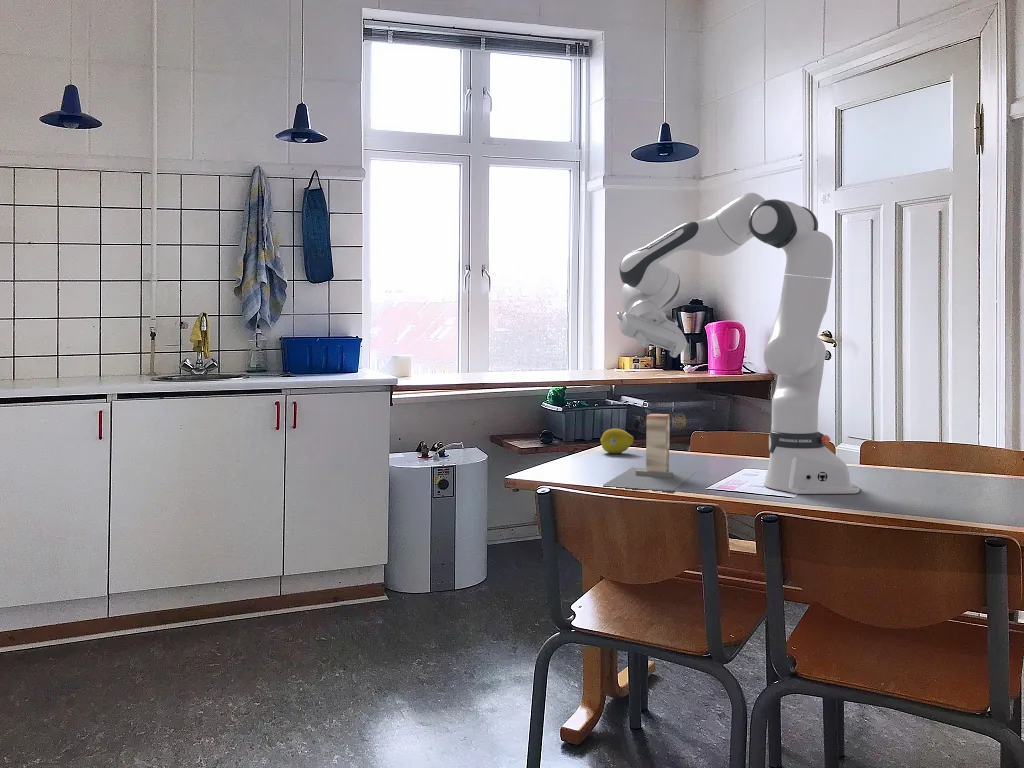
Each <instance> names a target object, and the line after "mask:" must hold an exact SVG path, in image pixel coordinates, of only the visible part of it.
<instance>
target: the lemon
mask: <svg viewBox="0 0 1024 768" xmlns="http://www.w3.org/2000/svg"><path fill="white" fill-rule="evenodd" d="M599 441H600V444H601V447H602V449H603V450H604V451H605V452H607V453H608V454H613V455H617V454H618V455H619V454H622V453H623V452H625V451H627V450H628V449H629V448H630V446H632V445H633V443H634V436H633V435H631V434H630V433H628V432H627V431H626V430H623V429H620V428H610V429H607V430H605V431H604V432H603V433H602V436H601V437H600V440H599Z"/></svg>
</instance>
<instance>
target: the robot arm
mask: <svg viewBox="0 0 1024 768" xmlns="http://www.w3.org/2000/svg"><path fill="white" fill-rule="evenodd" d="M752 238H756V239H757V240H759V241H760V242H762V243H764V244H766V245H769V246H771V247H774V248H776V249H782V250H783V251H784V252H785V256H786V259H785V260H786V262H785V267H784V269H785V270H784V275H783V282H782V287H781V288H782V289H781V294H780V301H779V305H778V310H777V312H776V317H775V319H774V321H773V326H772V328H771V332H770V336H769V339H768V341H767V344H766V346H765V347H764V351H763V360H764V361H763V362H764V364H765V365H766V367H767V368H768V370H769V371H771V372H772V373H773V374H776V375H777V379H776V384H775V385H776V386H775V388H774V393H773V396H772V399H771V429H770V430H769V435H768V450H769V460H768V466H767V470H766V471H767V472H766V476H765V478H764V482H763V486H764V487H766V488H770V489H771V490H773V489H774V490H777V491H782V492H783V491H784V492H787V493H791V494H797V495H801V494H802V495H805V494H806V495H809V494H810V495H812V494H813V495H818V494H820V495H824V494H825V495H826V494H827V495H828V494H829V495H830V494H837V495H838V494H842V495H843V494H858V493H859V492H860V486H859V484H858V483H857V482H854V481H852V480H851V477H850V471H849V467H848V465H847V463H845V461H843V459H841V458H840V457H839V456H837V455H836V454H835V453H834V452H832V451H831V450H830V449H829V448H827V447H826V445H828V444H830V443H831V437H830V436H828V435H827V434H823V433H822V432H820V431H819V429H818V426H819V399H820V392H821V386H822V382H823V381H822V380H823V374H824V366H825V360H826V357H827V350H826V345H825V344H824V342H823V341H822V339H821V338H820V337H818V334H819V332H820V329H821V324H822V321H823V319H824V316H825V314H826V312H827V309H828V304H829V303H828V302H829V296H830V291H831V283H832V277H833V267H834V246H833V244H834V243H833V240H832V238H831V236H829V234H827V233H825V232H822V231H819V221H818V218H817V216H816V215H815V213H814V212H813V211H812V210H810V209H809V208H807V207H805V206H800V205H799V204H796V203H795V202H792V201H789V200H788V201H787V200H781V199H776V198H773V199H767V200H766V199H765V198H764V197H763V196H762V195H760V194H758V193H755V192H746V193H744V194H743V195H740V196H739V197H737V198H735V199H733V200H732V201H730V202H728V203H727V204H726V205H724V206H723V207H722V208H720V209H718V210H717V211H716V212H715V213H713V214H711V215H710V216H708V217H706V218H702V219H700V220H697V221H688V222H685V223H682V224H680V225H679V226H677V227H674V228H672V230H670V231H668V232H666V233H665V234H663V235H662V236H660V237H658V238H657V239H655V240H654V241H652V242H650V243H648V244H647V245H645V246H643V247H640V248H638V249H636V250H632V251H631V252H629V253H627V254H626V255H625V256H624V257H623V258H622V260H621V262H620V264H619V275H620V279H621V282H622V283H623V287H622V288H621V291H620V301H621V304H622V308H623V310H624V311H618V312H616V317H617V319H618V326H619V329H620V333H622V335H624V336H625V337H629V338H632V339H634V340H635V341H637V342H638V344H640V345H641V347H642V348H644V349H648V348H649V346H650V345H652V346H655V347H659V348H661V349H664V350H667V351H669V353H668V354H669V356H670V357H672V358H674V359H675V358H678V356H679V354H682V353H683V352H684V350H685V349H686V348H687V346H688V341H687V339H686V337H685V334H684V333H683V332H682V330H681V329H680V328H679V323H678V321H677V320H676V319H675V318H673V317H671V316H670V315H667V314H666V313H665V312H664V311H662V310H661V309H662V308H664V307H666V306H667V305H669V304H670V303H671V302H672V301H673V300H674V299H675V298H676V297H677V295H678V293H679V291H680V286H681V285H680V284H681V279H680V276H679V274H678V273H677V272H675V270H672V269H671V268H670V267H667V266H666V265H664V264H663V263H662V262H661V261H663V260H665V259H667V258H669V257H670V256H672V255H673V254H676V253H677V252H681V251H692V252H697V253H701V254H706V255H708V256H711V257H712V256H713V257H724V256H726V255H729V254H731V253H733V252H735V251H736V250H738V249H739V248H740V247H741V246H743V245H745V244H746V243H747V242H748V241H750V240H751V239H752Z"/></svg>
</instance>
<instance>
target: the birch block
mask: <svg viewBox="0 0 1024 768" xmlns="http://www.w3.org/2000/svg"><path fill="white" fill-rule="evenodd" d="M645 419H646V429H645V430H646V431H645V433H646V434H645V435H646V439H645V440H646V441H645V443H646V446H645V447H646V450H645V451H646V455H645V457H646V459H645V461H646V462H645V464H646V465H645V469H646V471H659V472H669V470H670V414H669V413H667V414H666V413H664V414H663V413H649V414H647V415H646V418H645Z"/></svg>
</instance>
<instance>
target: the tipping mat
mask: <svg viewBox="0 0 1024 768" xmlns="http://www.w3.org/2000/svg"><path fill="white" fill-rule="evenodd" d="M696 473H697V472H696V471H686V470H685V471H684V470H674V469H673V470H672V469H671V470H670V469H669V472H659V471H646V467H645V468H642V467H631V468H629V469H628V470H626V471H624V472H622V473H621V474H618V475H616V476H615V477H614V478H612V479H611V480H609V481H607V482H606V483H604V484H602V488H603V487H616V488H625V489H632V490H631V491H636V490H652V491H662V492H667V493H666V494H675V493H674V492H677V490H676V489H677V488H678V487H679V486H681V485H683V483H685V482H686V481H687V480H689V479H690V477H692V476H693V475H695V474H696Z"/></svg>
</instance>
